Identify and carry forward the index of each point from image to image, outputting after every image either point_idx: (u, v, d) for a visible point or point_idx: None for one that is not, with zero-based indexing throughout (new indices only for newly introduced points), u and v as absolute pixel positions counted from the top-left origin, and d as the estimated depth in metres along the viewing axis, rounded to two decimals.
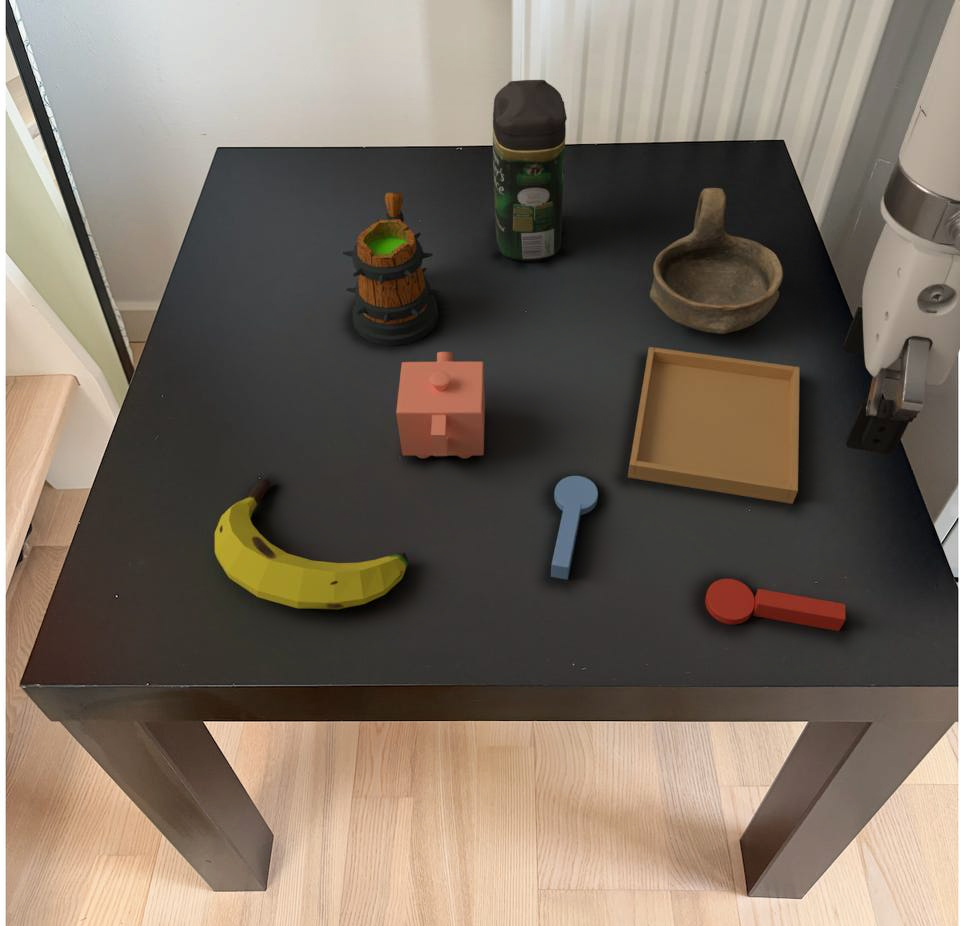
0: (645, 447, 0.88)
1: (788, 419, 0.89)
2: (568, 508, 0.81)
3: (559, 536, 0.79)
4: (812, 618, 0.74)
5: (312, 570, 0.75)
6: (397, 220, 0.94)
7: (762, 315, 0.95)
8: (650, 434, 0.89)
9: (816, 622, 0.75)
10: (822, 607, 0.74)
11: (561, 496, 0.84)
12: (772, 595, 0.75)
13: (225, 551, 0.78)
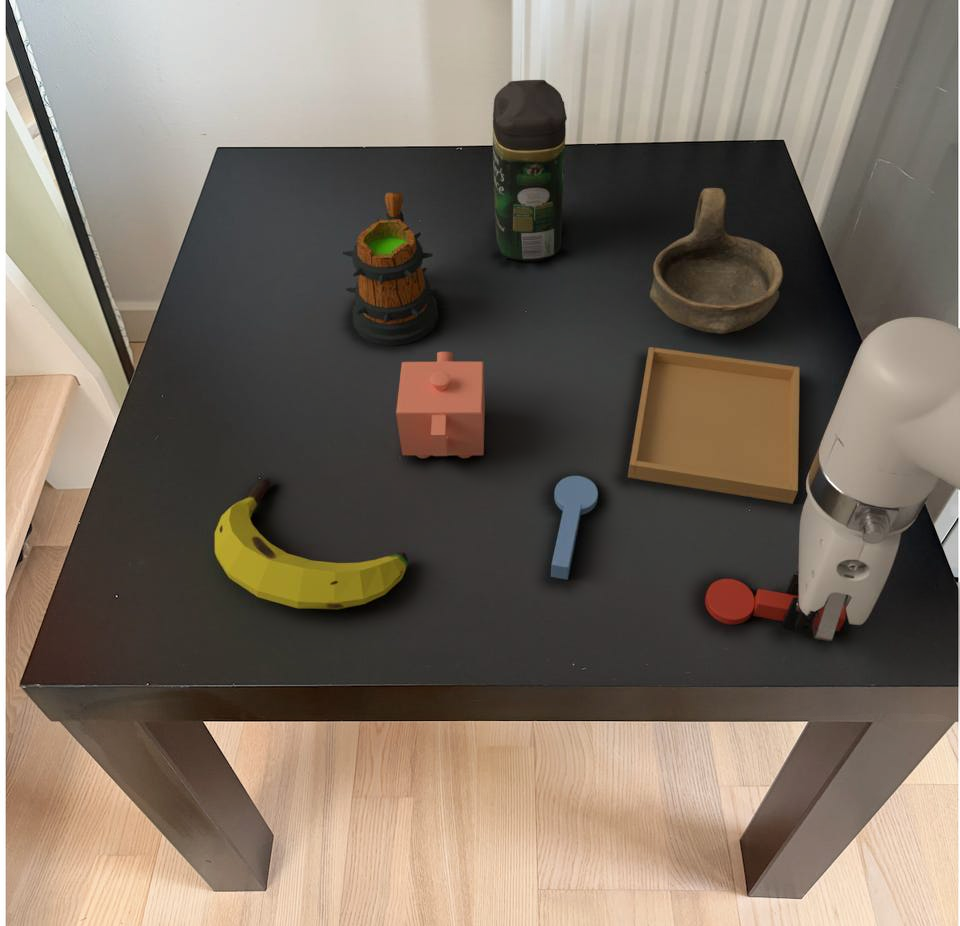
0: (645, 447, 0.88)
1: (788, 419, 0.89)
2: (568, 508, 0.81)
3: (559, 536, 0.79)
4: None
5: (312, 570, 0.75)
6: (397, 220, 0.94)
7: (762, 315, 0.95)
8: (650, 434, 0.89)
9: None
10: None
11: (561, 496, 0.84)
12: (772, 595, 0.75)
13: (225, 551, 0.78)
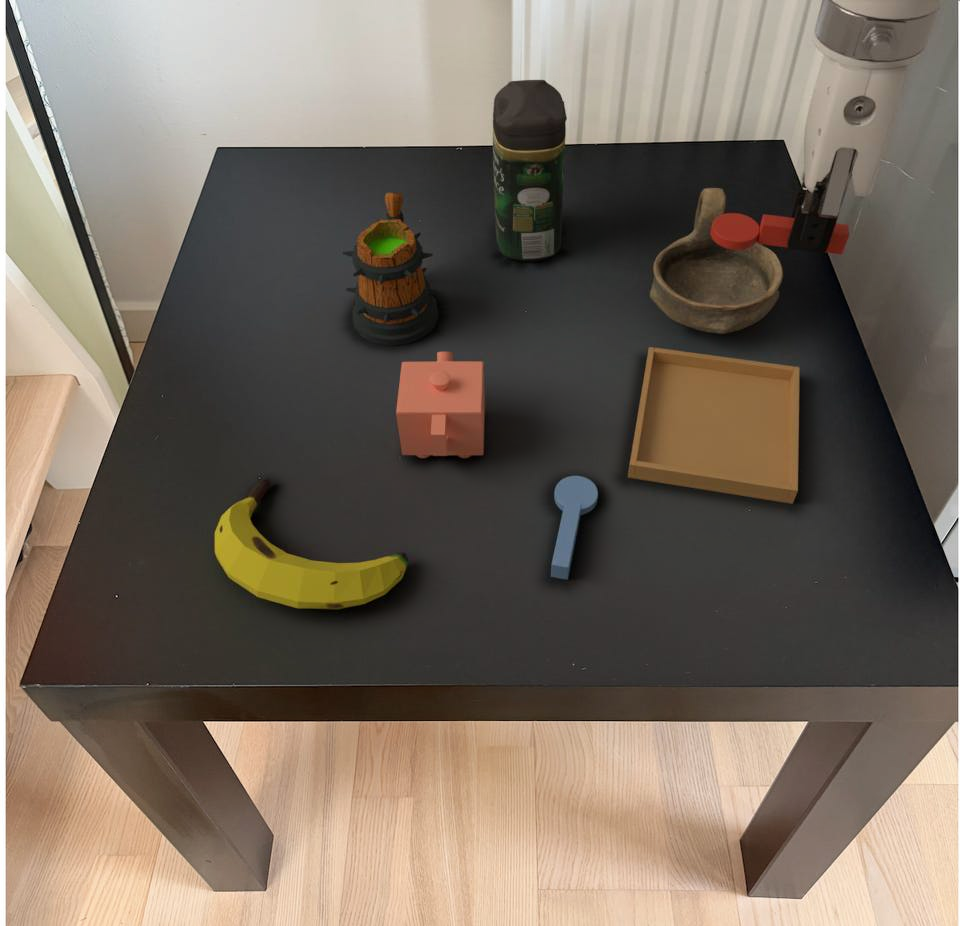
0: (645, 447, 0.88)
1: (788, 419, 0.89)
2: (568, 508, 0.81)
3: (559, 536, 0.79)
4: None
5: (312, 570, 0.75)
6: (397, 220, 0.94)
7: (762, 315, 0.95)
8: (650, 434, 0.89)
9: None
10: None
11: (561, 496, 0.84)
12: (777, 218, 0.76)
13: (225, 551, 0.78)
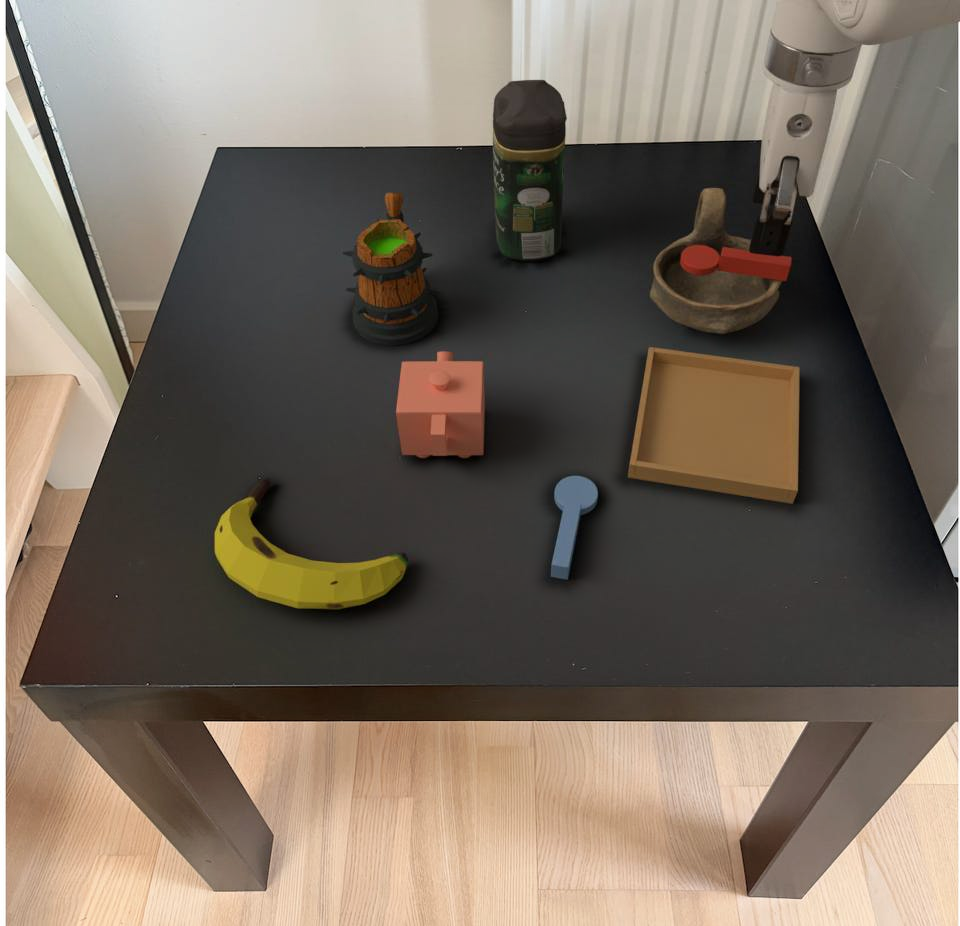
0: (645, 447, 0.88)
1: (788, 419, 0.89)
2: (568, 508, 0.81)
3: (559, 536, 0.79)
4: (764, 267, 0.93)
5: (312, 570, 0.75)
6: (397, 220, 0.94)
7: (762, 315, 0.95)
8: (650, 434, 0.89)
9: (768, 272, 0.93)
10: (772, 258, 0.93)
11: (561, 496, 0.84)
12: (733, 250, 0.94)
13: (225, 551, 0.78)
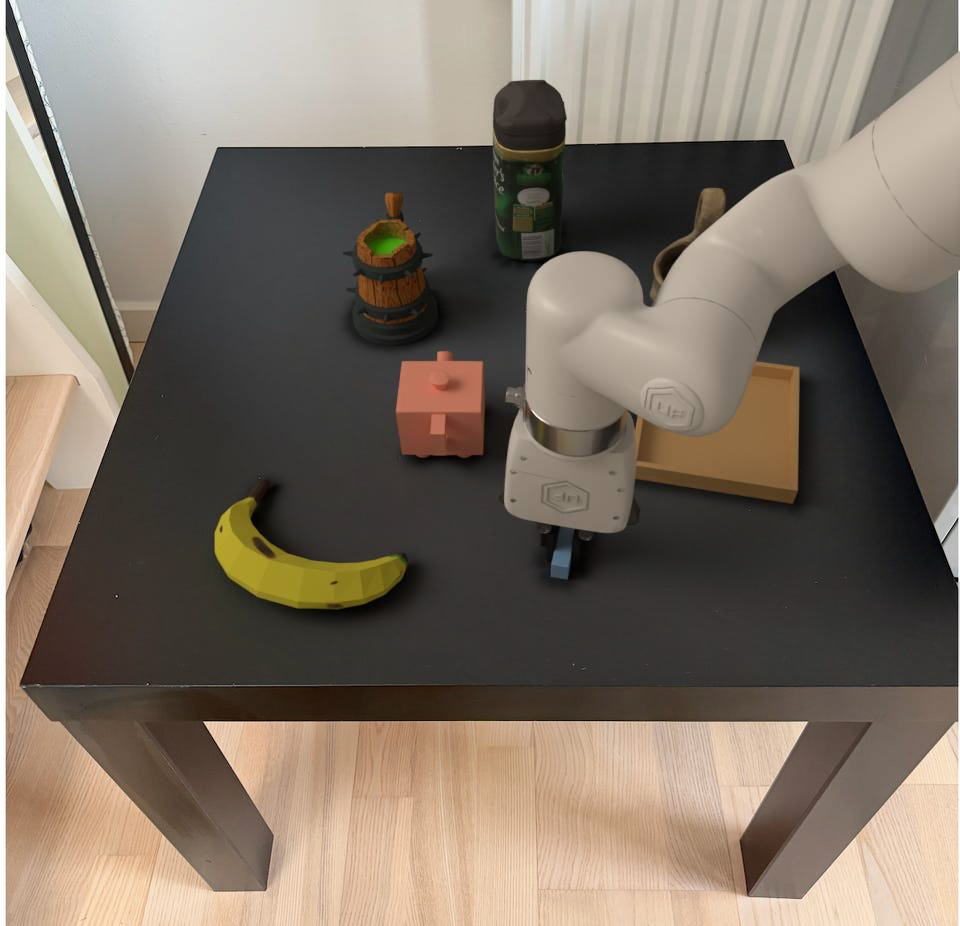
0: (645, 447, 0.88)
1: (788, 419, 0.89)
2: None
3: (559, 536, 0.79)
4: None
5: (312, 570, 0.75)
6: (397, 220, 0.94)
7: None
8: (650, 434, 0.89)
9: None
10: None
11: None
12: None
13: (225, 551, 0.78)
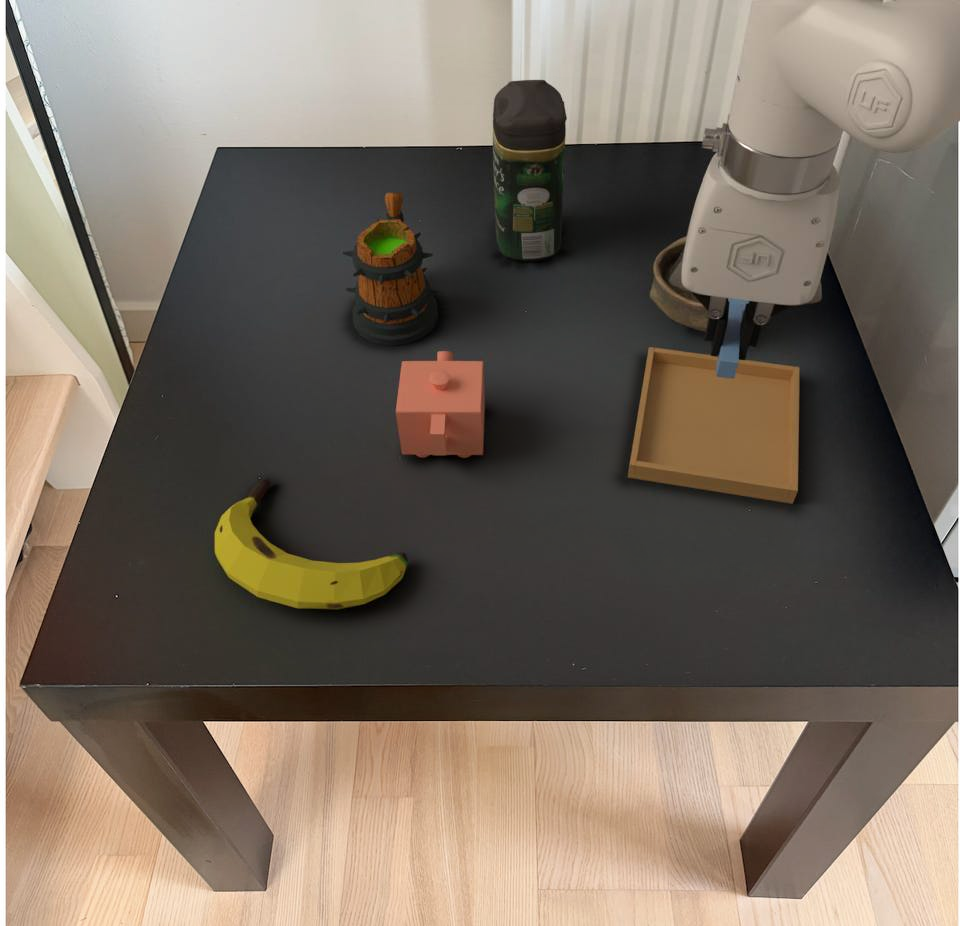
0: (645, 447, 0.88)
1: (788, 419, 0.89)
2: (729, 308, 0.77)
3: None
4: None
5: (312, 570, 0.75)
6: (397, 220, 0.94)
7: None
8: (650, 434, 0.89)
9: None
10: None
11: None
12: None
13: (225, 551, 0.78)
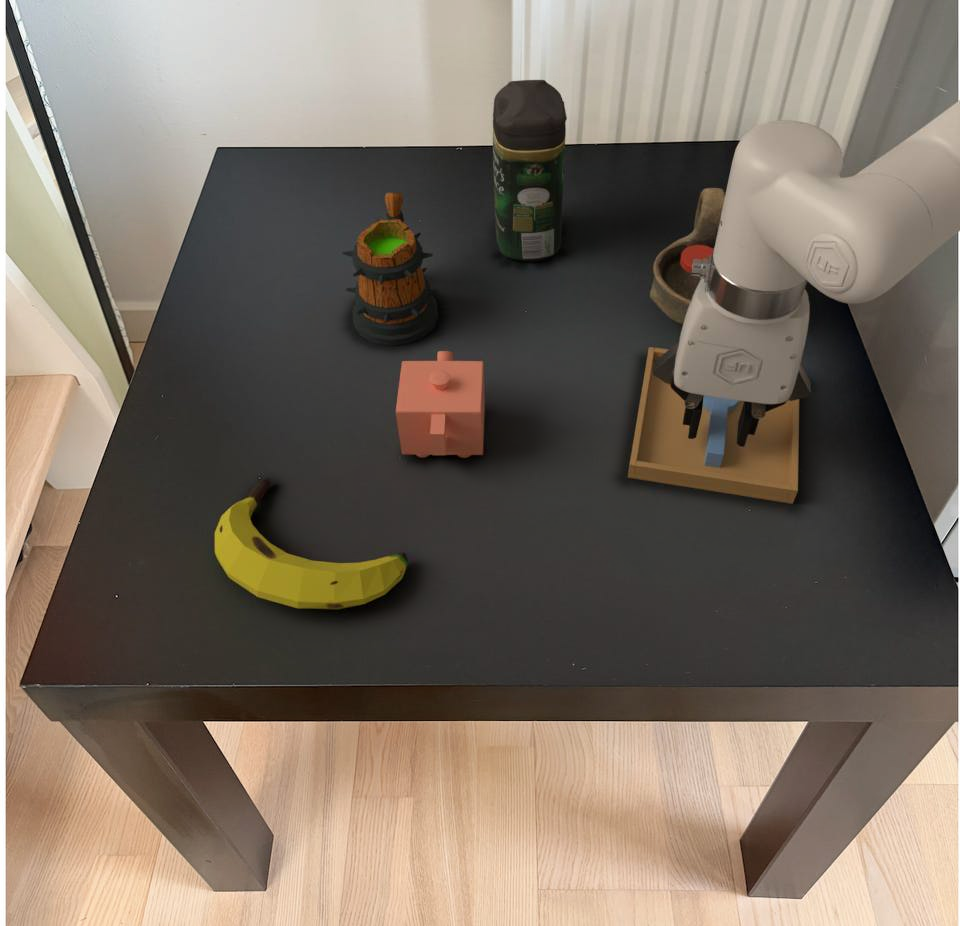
0: (645, 447, 0.88)
1: (788, 419, 0.89)
2: (716, 404, 0.88)
3: (711, 428, 0.86)
4: None
5: (312, 570, 0.75)
6: (397, 220, 0.94)
7: None
8: (650, 434, 0.89)
9: None
10: None
11: (706, 396, 0.90)
12: None
13: (225, 551, 0.78)
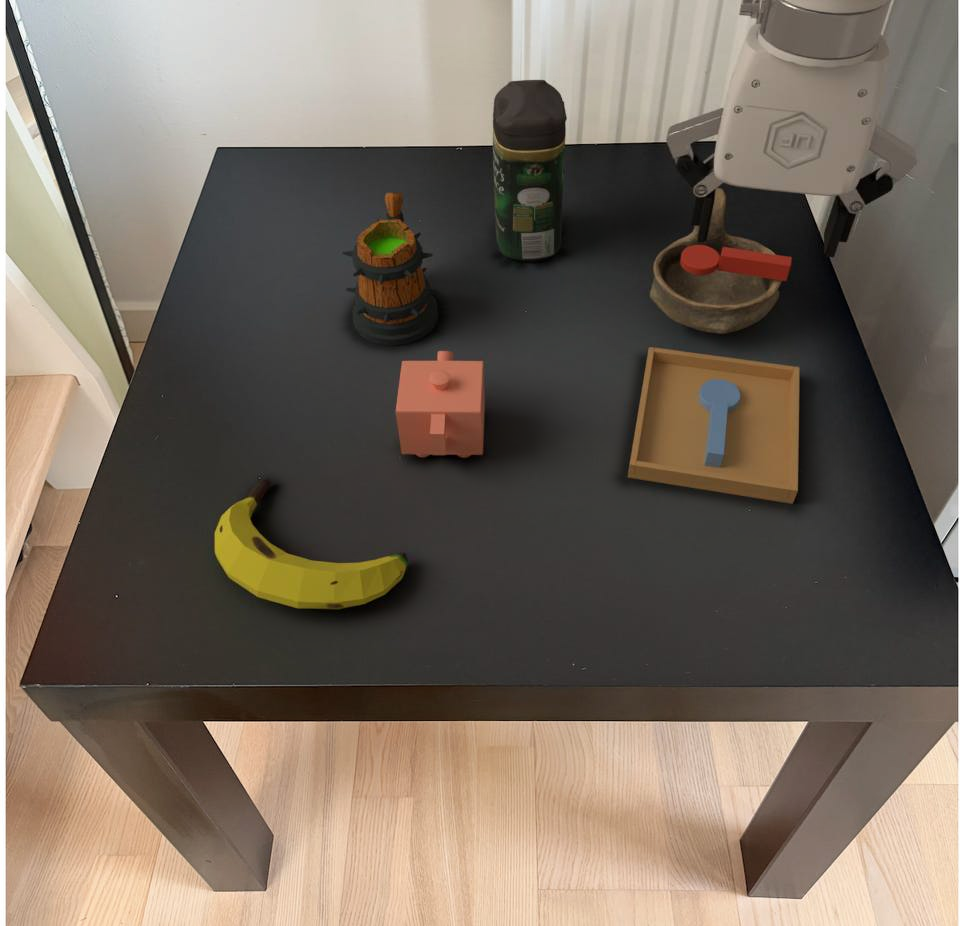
0: (645, 447, 0.88)
1: (788, 419, 0.89)
2: (716, 404, 0.88)
3: (711, 428, 0.86)
4: (764, 267, 0.93)
5: (312, 570, 0.75)
6: (397, 220, 0.94)
7: (762, 315, 0.95)
8: (650, 434, 0.89)
9: (768, 272, 0.93)
10: (772, 258, 0.93)
11: (706, 396, 0.90)
12: (733, 250, 0.94)
13: (225, 551, 0.78)
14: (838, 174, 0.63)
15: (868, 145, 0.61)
